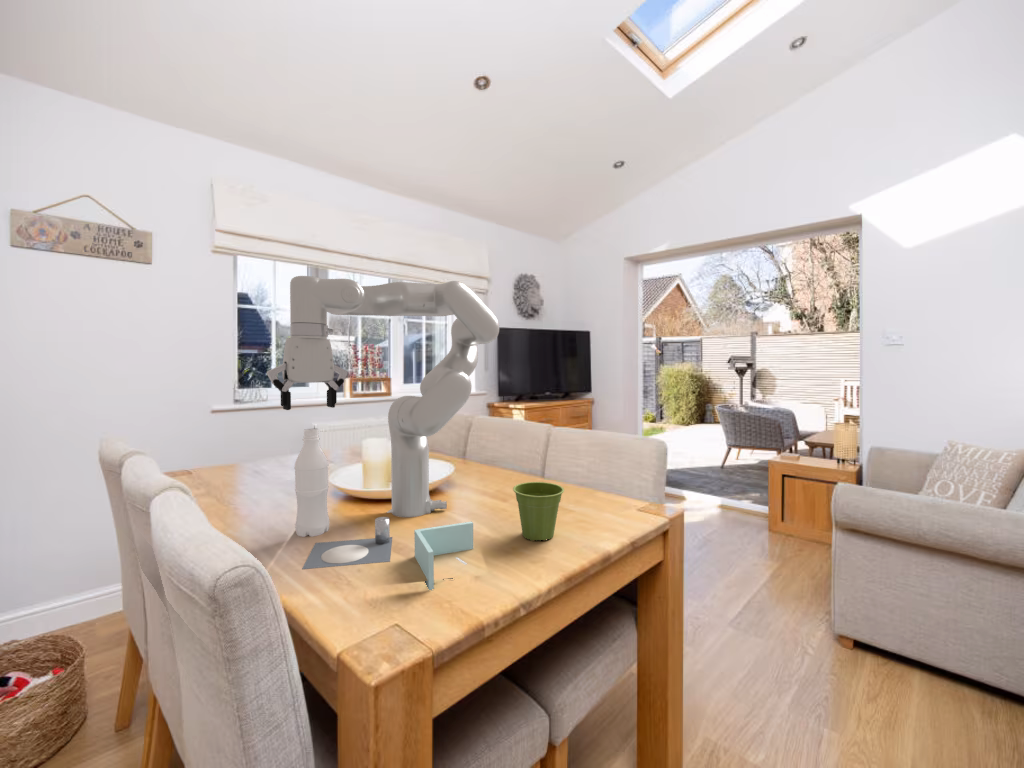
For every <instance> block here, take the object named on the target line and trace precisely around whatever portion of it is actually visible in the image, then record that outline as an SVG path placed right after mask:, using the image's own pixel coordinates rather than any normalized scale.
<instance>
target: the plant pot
mask: <svg viewBox="0 0 1024 768" xmlns="http://www.w3.org/2000/svg"><path fill="white" fill-rule="evenodd" d="M512 491H513V492H514V494H515V497H516V502H517V506H518V511H519V519H520V526H521V527H520V528H521V531H522V532H521V534H522V536H523V538H525V539H526V538H527V540H529V539H530V541H532V540H536V541H541V540H546V539H549V540H551V539H553V537H554V534H555V529H556V522H557V517H558V511H559V507H560V506H559V505H560V503H561V499H562V495H563V493H565V489H564V487H563V486H561V485H560V484H557V483H552V482H546V481H545V482H543V481H529V482H523V483H518V484H516V485H514V487H513V488H512ZM550 538H551V539H550ZM546 541H547V540H546Z"/></svg>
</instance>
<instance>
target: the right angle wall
mask: <svg viewBox="0 0 1024 768" xmlns="http://www.w3.org/2000/svg"><path fill="white" fill-rule="evenodd" d="M469 550H474V522H473V521H467V522H466V521H464V522H459V523H458V522H457V523H453V524H444V525H438V526H433V527H426V528H425V527H423V528H418V529H414V558H415V560H416V561H417V563H418V565H419V566H420V569H421V571H422V572H423V574H424V576H425V578H426V580H424V581H425V582H424V584H425V583H426V584H425V585H427V586H426V588H427V587H428V588H427V589H429V590H431V591H433V590H432V589H434V590H435V576H434V575H435V569H434V563H435V562H434V561H435V560H434V558H435V557H434V556H439V555H444V554H452V553H458V552H463V551H469ZM455 559H456V560H458V561H459V562H460V563H461V564H463V565H464V566H466V565H468V563H467V562H465V561H464V560H462V559H461V558H459V557H458V556H457V557H455ZM453 578H454V577H450V578H447V579H453ZM444 579H445V578H443V579H442V580H443V581H445V580H444ZM429 590H428V591H429Z"/></svg>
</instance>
